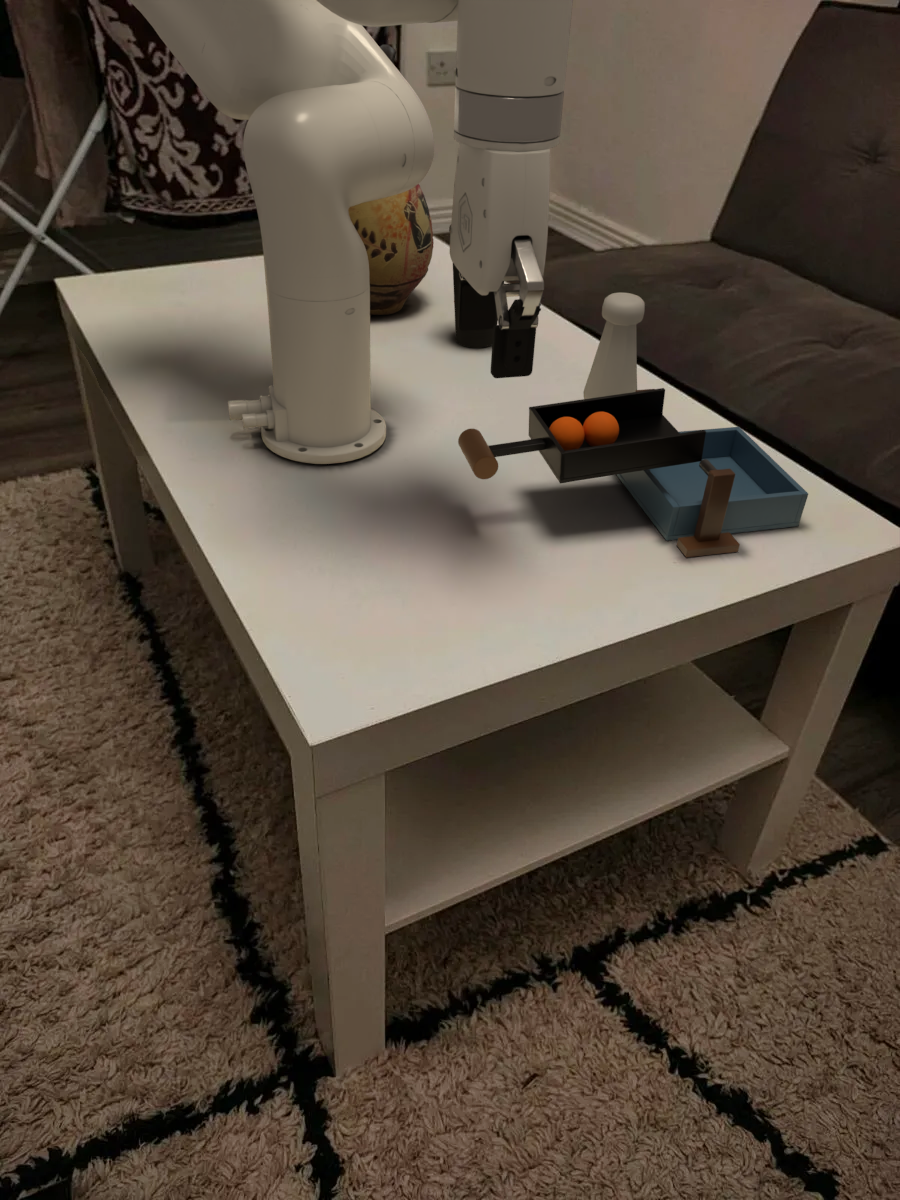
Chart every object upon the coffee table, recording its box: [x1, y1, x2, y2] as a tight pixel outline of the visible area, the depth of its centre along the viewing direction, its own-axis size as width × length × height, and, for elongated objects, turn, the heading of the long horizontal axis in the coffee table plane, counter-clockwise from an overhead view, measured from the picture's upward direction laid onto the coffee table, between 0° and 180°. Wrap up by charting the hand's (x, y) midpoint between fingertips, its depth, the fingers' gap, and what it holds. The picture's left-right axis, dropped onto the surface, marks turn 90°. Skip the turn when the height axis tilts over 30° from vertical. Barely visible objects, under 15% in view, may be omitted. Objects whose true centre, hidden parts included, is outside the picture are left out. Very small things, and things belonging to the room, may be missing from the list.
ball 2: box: [583, 412, 619, 447], centre depth 84 cm, size 3×3×3 cm
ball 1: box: [549, 417, 585, 451], centre depth 84 cm, size 3×3×3 cm
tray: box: [616, 426, 809, 541], centre depth 91 cm, size 13×13×4 cm
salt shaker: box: [583, 292, 646, 399], centre depth 101 cm, size 6×6×13 cm
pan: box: [457, 387, 706, 484], centre depth 84 cm, size 20×9×3 cm, turn 104°
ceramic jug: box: [348, 44, 435, 317], centre depth 120 cm, size 17×15×30 cm
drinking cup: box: [448, 224, 505, 349], centre depth 114 cm, size 8×8×20 cm
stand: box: [635, 388, 740, 558], centre depth 89 cm, size 5×19×7 cm, turn 14°
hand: (492, 351), depth 78 cm, fingers open, 9 cm apart
